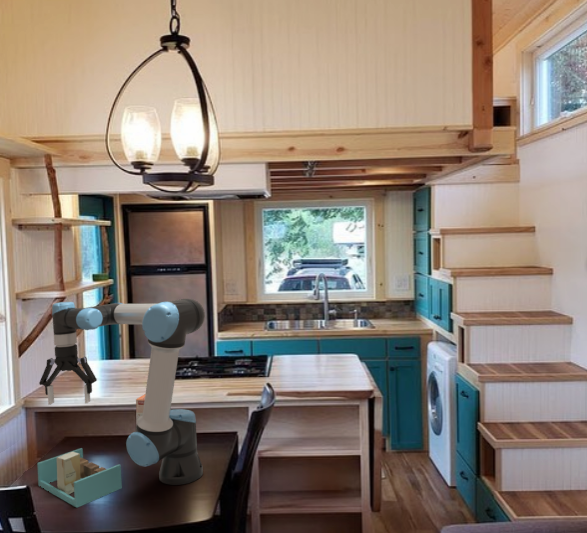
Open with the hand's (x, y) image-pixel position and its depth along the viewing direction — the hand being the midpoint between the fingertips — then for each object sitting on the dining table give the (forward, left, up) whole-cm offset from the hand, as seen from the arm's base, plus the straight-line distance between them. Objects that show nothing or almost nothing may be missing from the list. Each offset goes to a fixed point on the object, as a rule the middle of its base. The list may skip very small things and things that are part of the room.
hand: (69, 403), depth 188 cm
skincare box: (-13, +8, -26) cm, 30 cm away
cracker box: (-1, -33, -26) cm, 42 cm away
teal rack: (-13, +5, -26) cm, 29 cm away
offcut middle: (-13, 0, -26) cm, 29 cm away
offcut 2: (-20, 0, -26) cm, 33 cm away
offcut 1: (-6, 0, -26) cm, 26 cm away
